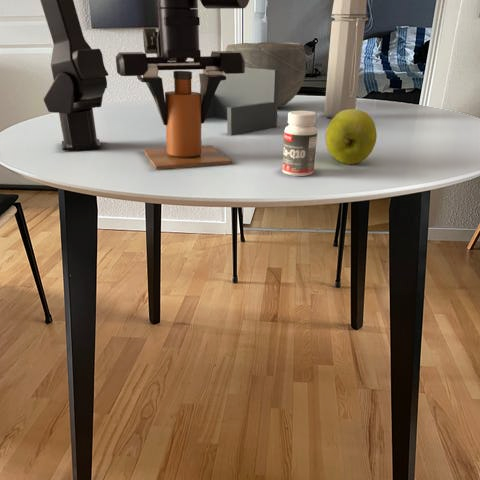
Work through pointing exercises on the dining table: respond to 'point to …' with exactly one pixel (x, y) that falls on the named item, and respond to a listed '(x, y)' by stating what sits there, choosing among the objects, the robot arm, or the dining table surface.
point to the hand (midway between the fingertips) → (183, 123)
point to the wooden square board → (186, 158)
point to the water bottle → (344, 55)
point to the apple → (351, 136)
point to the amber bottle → (183, 117)
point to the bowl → (277, 64)
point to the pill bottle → (300, 143)
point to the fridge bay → (247, 100)
